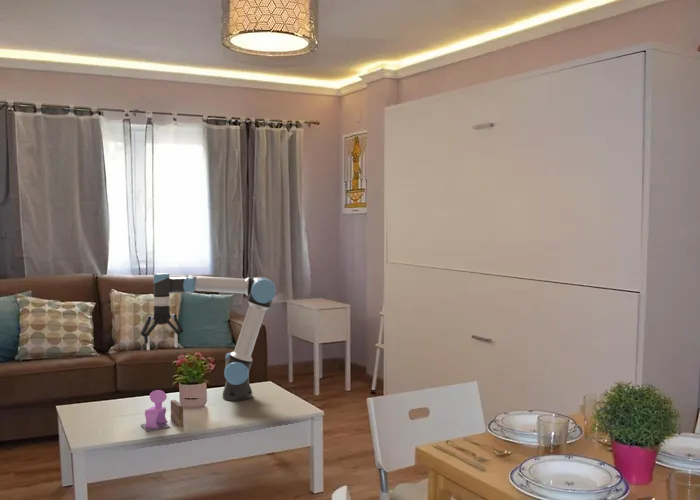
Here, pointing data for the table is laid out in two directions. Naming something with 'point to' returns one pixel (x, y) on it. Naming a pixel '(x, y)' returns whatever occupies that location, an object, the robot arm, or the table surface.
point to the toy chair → (156, 409)
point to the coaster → (160, 426)
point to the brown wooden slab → (177, 412)
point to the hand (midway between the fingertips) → (162, 348)
